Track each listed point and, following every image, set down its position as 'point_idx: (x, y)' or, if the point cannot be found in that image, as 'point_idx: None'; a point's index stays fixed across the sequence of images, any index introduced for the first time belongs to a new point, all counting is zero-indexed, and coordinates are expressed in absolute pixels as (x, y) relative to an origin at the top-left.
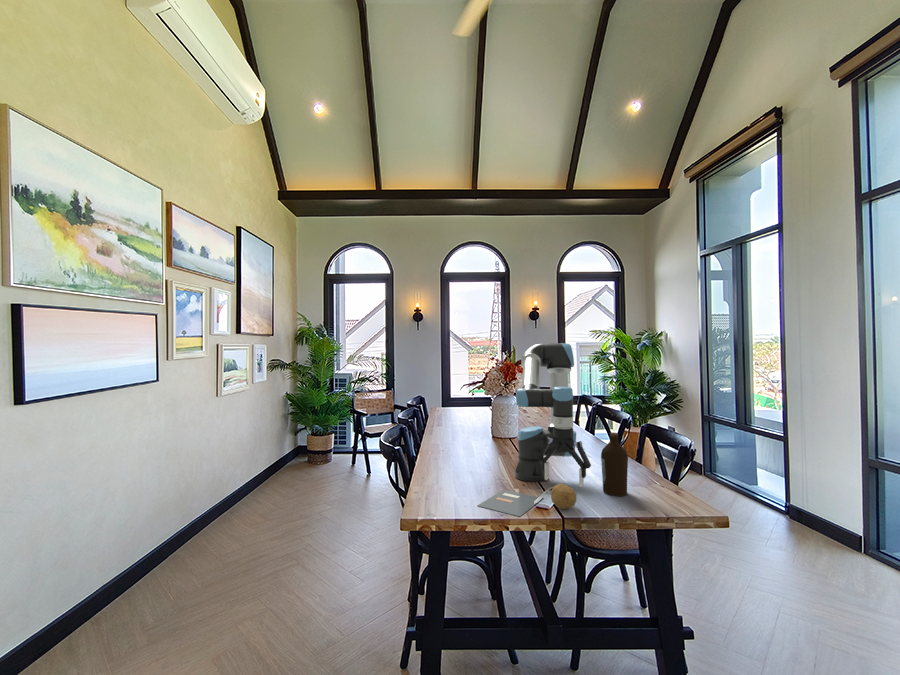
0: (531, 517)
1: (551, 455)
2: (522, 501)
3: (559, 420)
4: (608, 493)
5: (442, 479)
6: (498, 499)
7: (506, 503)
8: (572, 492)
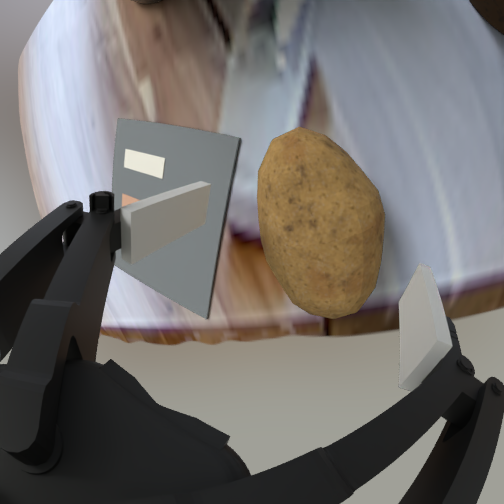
0: (235, 318)
1: (99, 259)
2: None
3: None
4: (493, 24)
5: (38, 127)
6: None
7: None
8: (360, 291)
